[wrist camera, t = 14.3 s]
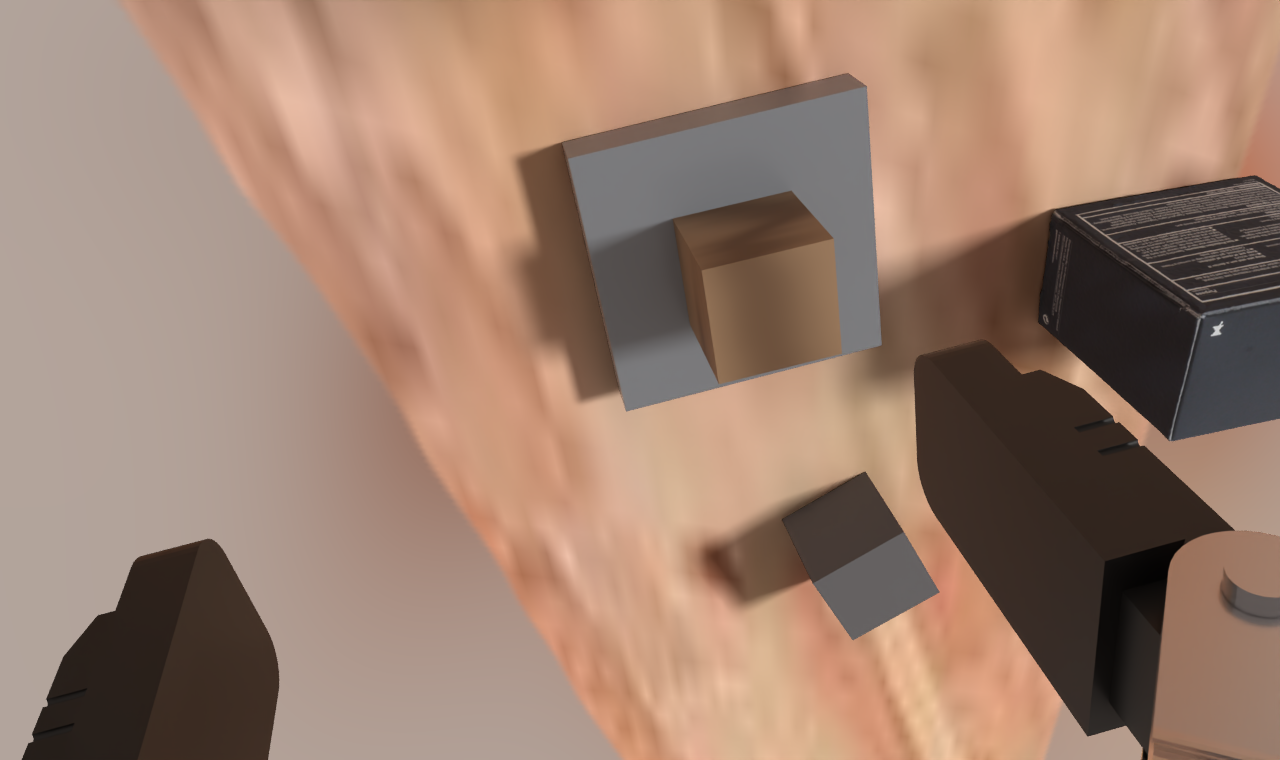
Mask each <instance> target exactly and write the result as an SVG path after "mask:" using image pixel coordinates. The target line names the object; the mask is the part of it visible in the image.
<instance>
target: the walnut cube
mask: <svg viewBox="0 0 1280 760" xmlns="http://www.w3.org/2000/svg"><path fill="white" fill-rule="evenodd" d="M673 224H674V230H675V236H676V242H677V249H678V255H679V261H680V267H681V273H682V279H683V285H684V291H685V297H686V303H687V309H688V315H689V321H690V326H691V328H692V330H693V332H694V334H695V336H696V338H697V340H698V342H699V344H700V346H701V348H702V350H703V352H704V355H705V357H706V359H707V361H708V363H709V365H710V367H711V369H712V371H713V373H714V375H715V377H716V379H717V381H718V383H719V384H722V383H726V382H731V381H735V380H739V379H743V378H747V377H751V376H755V375H759V374H763V373H767V372H771V371H775V370H779V369H783V368H787V367H791V366H795V365H799V364H803V363H807V362H811V361H815V360H819V359H823V358H827V357H831V356H835V355H839V354H842V347H841V333H840V319H839V305H838V291H837V276H836V262H835V248H834V238H833V237H832V236H831V235H830V234H829V233H828V231H827V230H826V229H825V228H824V227H823V226H822V225H821V224H820V222H819V221H818V220H817V219H816V218H815V217H814V216H813V214H812V213H811V212H810V211H809V210H808V209H807V208H806V207H805V205H804V204H803V203H802V202H801V201H800V200H799V199H798V197H797V196H796V195H795V194H794V193H793V192H792V191H787V192H783V193H779V194H775V195H770V196H766V197H762V198H758V199H753V200H749V201H745V202H741V203H737V204H732V205H728V206H724V207H720V208H715V209H711V210H707V211H703V212H699V213H694V214H690V215H686V216H682V217H677V218H673Z"/></svg>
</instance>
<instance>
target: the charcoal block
mask: <svg viewBox="0 0 1280 760" xmlns="http://www.w3.org/2000/svg"><path fill="white" fill-rule="evenodd" d="M782 521H783V523H784V525H785V527H786V529H787V531H788V533H789V535H790V537H791V539H792V541H793V543H794V546H795V548H796V550H797V552H798V554H799V556H800V558H801V560H802V562H803V564H804V566H805V568H806V570H807V572H808V574H809V576H810V579H811V581H812V583H813V584H814V586H815V587H816V589H817V590H818V591H819V593H820V594H821V596H822V597H823V599H824V600H825V601H826V603H827V604H828V606H829V607H830V608H831V610H832V611H833V613H834V614H835V616H836V617H837V618H838V620H839V621H840V623H841V624H842V626H843V627H844V628H845V630H846V631H847V633H848V634H849V636H850V637H851V638H852V640H854V639H856V638H858V637H860V636H862V635H863V634H865V633H867V632H869V631H871V630H872V629H874V628H876V627H878V626H880V625H881V624H883V623H885V622H887V621H889V620H890V619H892V618H894V617H896V616H898V615H899V614H901V613H903V612H905V611H907V610H909V609H910V608H912V607H914V606H916V605H918V604H919V603H921V602H923V601H925V600H927V599H928V598H930V597H932V596H934V595H936V594H937V593H939V590H938V589H937V587H936V585H935V584H934V582H933V580H932V579H931V577H930V575H929V574H928V572H927V570H926V569H925V567H924V565H923V563H922V562H921V560H920V558H919V557H918V555H917V553H916V552H915V550H914V548H913V547H912V545H911V543H910V542H909V540H908V538H907V536H906V535H905V533H904V531H903V530H902V528H901V527H900V525H899V524H898V522H897V520H896V519H895V517H894V516H893V514H892V513H891V511H890V509H889V508H888V506H887V505H886V503H885V502H884V500H883V498H882V497H881V495H880V494H879V492H878V491H877V489H876V488H875V486H874V484H873V483H872V481H871V480H870V478H869V477H868V475H867V473H866V472H864V473H862V474H860V475H858V476H857V477H855V478H853V479H851V480H850V481H848V482H846V483H845V484H843V485H841V486H839V487H838V488H836V489H834V490H832V491H831V492H829V493H827V494H825V495H824V496H822V497H820V498H818V499H817V500H815V501H813V502H812V503H810V504H808V505H806V506H805V507H803V508H801V509H799V510H798V511H796V512H794V513H792V514H791V515H789V516H787V517H785V518H784V519H782Z"/></svg>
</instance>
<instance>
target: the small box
mask: <svg viewBox="0 0 1280 760" xmlns="http://www.w3.org/2000/svg"><path fill="white" fill-rule="evenodd" d="M1038 322H1039V324H1041V325H1042V326H1043V327H1044V328H1045V329H1047V330H1048V331H1049V332H1050V333H1051V334H1052V335H1053V336H1054V337H1056V338H1057V339H1058V340H1059V341H1060V342H1061V343H1062V344H1063V345H1064V346H1066V347H1067V348H1068V349H1069V350H1070V351H1071V352H1072V353H1074V354H1075V355H1076V356H1077V357H1078V358H1079V359H1080V360H1081V361H1082V362H1084V363H1085V364H1086V365H1087V366H1088V367H1089V368H1090V369H1091V370H1092V371H1094V372H1095V373H1096V374H1097V375H1098V376H1099V377H1100V378H1102V380H1103V381H1105V382H1106V383H1107V384H1108V385H1109V386H1110V387H1111V388H1112V389H1113V390H1115V391H1116V392H1117V393H1118V394H1119V395H1120V396H1121V397H1122V398H1123V399H1124V400H1126V401H1127V402H1128V403H1129V404H1130V405H1131V406H1132V407H1133V408H1134V409H1136V410H1137V411H1138V412H1139V413H1140V414H1141V415H1142V416H1143V417H1144V418H1146V419H1147V420H1148V421H1149V422H1150V423H1151V424H1152V425H1153V426H1154V427H1156V428H1157V429H1158V430H1159V431H1160V432H1161V433H1162V434H1163V435H1164V436H1165V437H1166V438H1167V439H1168V440H1169V441H1175V440H1180V439H1185V438H1189V437H1195V436H1200V435H1204V434H1209V433H1214V432H1218V431H1222V430H1227V429H1232V428H1237V427H1242V426H1246V425H1251V424H1256V423H1261V422H1265V421H1270V420H1275V419H1280V189H1279V188H1277V187H1276V186H1274V185H1272V184H1270V183H1268V182H1266V181H1264V180H1263V179H1262V178H1260V177H1258V176H1248V177H1242V178H1236V179H1229V180H1223V181H1217V182H1212V183H1206V184H1200V185H1194V186H1189V187H1183V188H1177V189H1171V190H1166V191H1160V192H1154V193H1148V194H1142V195H1137V196H1130V197H1125V198H1119V199H1114V200H1108V201H1101V202H1096V203H1090V204H1085V205H1080V206H1074V207H1069V208H1063V209H1057V210H1055V211H1054V213H1053V214H1052V217H1051V222H1050V238H1049V241H1048V252H1047V259H1046V266H1045V273H1044V280H1043V287H1042V291H1041V293H1040V307H1039V319H1038Z"/></svg>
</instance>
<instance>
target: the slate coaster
mask: <svg viewBox="0 0 1280 760" xmlns="http://www.w3.org/2000/svg"><path fill="white" fill-rule="evenodd" d="M562 146H563V150H564V154H565V159H566V163H567V167H568V172H569V176H570V180H571V184H572V189H573V193H574V197H575V202H576V206H577V210H578V215H579V219H580V223H581V228H582V232H583V236H584V241H585V245H586V249H587V253H588V258H589V262H590V266H591V271H592V275H593V279H594V284H595V288H596V292H597V297H598V301H599V305H600V310H601V314H602V318H603V322H604V327H605V331H606V335H607V340H608V344H609V348H610V353H611V357H612V361H613V366H614V370H615V374H616V379H617V383H618V387H619V391H620V394H621V397H622V400H623V403H624V406H625V409H626V411H630V410H634V409H638V408H642V407H645V406H649V405H653V404H657V403H661V402H665V401H669V400H672V399H676V398H680V397H684V396H688V395H692V394H696V393H700V392H703V391H707V390H711V389H715V388H719V387H723V386H727V385H730V384H734V383H738V382H742V381H746V380H750V379H754V378H757V377H761V376H765V375H769V374H773V373H777V372H781V371H785V370H788V369H792V368H796V367H800V366H804V365H808V364H812V363H815V362H819V361H823V360H827V359H831V358H835V357H839V356H842V355H846V354H850V353H854V352H858V351H862V350H866V349H869V348H873V347H877V346H881V345H882V342H881V325H880V308H879V290H878V273H877V256H876V238H875V221H874V204H873V186H872V169H871V152H870V135H869V117H868V100H867V86H866V85H864V84H863V83H861V82H860V81H859V80H857V79H856V78H854V77H853V76H851V75H850V74H849V73H847V74H843V75H839V76H835V77H831V78H827V79H823V80H818V81H814V82H810V83H806V84H802V85H798V86H794V87H789V88H785V89H781V90H777V91H773V92H769V93H765V94H760V95H756V96H752V97H748V98H744V99H740V100H736V101H731V102H727V103H723V104H719V105H715V106H711V107H707V108H702V109H698V110H694V111H690V112H686V113H682V114H678V115H673V116H669V117H665V118H661V119H657V120H653V121H649V122H644V123H640V124H636V125H632V126H628V127H624V128H620V129H615V130H611V131H607V132H603V133H599V134H595V135H591V136H586V137H582V138H578V139H574V140H570V141H566V142H562ZM787 191H792V192H793V193H794V194H795V195H796V196H797V197H798V199H799V200H800V201H801V202H802V203H803V204H804V205H805V207H806V208H807V209H808V210H809V211H810V212H811V213H812V214H813V216H814V217H815V218H816V219H817V220H818V221H819V222H820V224H821V225H822V226H823V227H824V228H825V229H826V230H827V231H828V233H829V234H830V235H831V236H832V237H833V238H834V248H835V262H836V276H837V291H838V305H839V319H840V333H841V347H842V354H839V355H835V356H831V357H827V358H823V359H819V360H815V361H811V362H807V363H803V364H799V365H795V366H791V367H787V368H783V369H779V370H775V371H771V372H767V373H763V374H759V375H755V376H751V377H747V378H743V379H739V380H735V381H731V382H726V383H722V384H719V383H718V381H717V379H716V377H715V375H714V373H713V371H712V369H711V367H710V365H709V363H708V361H707V359H706V357H705V355H704V352H703V350H702V348H701V346H700V344H699V342H698V340H697V338H696V336H695V334H694V332H693V330H692V328H691V326H690V321H689V315H688V309H687V303H686V297H685V291H684V285H683V279H682V273H681V267H680V261H679V255H678V249H677V242H676V236H675V230H674V224H673V218H677V217H682V216H686V215H690V214H694V213H699V212H703V211H707V210H711V209H715V208H720V207H724V206H728V205H732V204H737V203H741V202H745V201H749V200H753V199H758V198H762V197H766V196H770V195H775V194H779V193H783V192H787Z"/></svg>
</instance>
